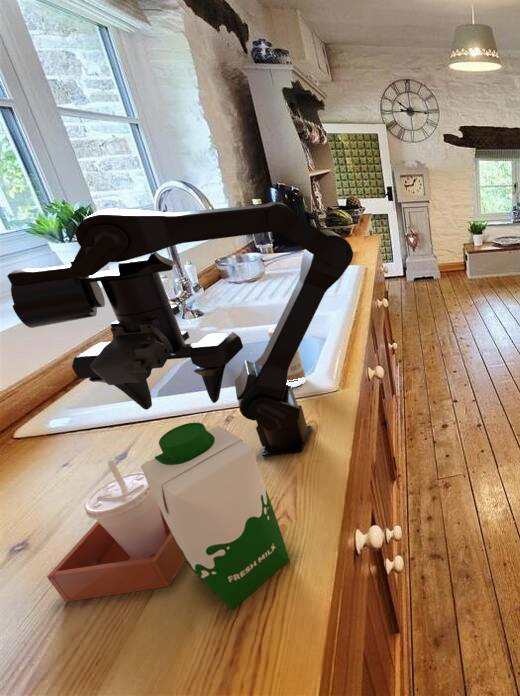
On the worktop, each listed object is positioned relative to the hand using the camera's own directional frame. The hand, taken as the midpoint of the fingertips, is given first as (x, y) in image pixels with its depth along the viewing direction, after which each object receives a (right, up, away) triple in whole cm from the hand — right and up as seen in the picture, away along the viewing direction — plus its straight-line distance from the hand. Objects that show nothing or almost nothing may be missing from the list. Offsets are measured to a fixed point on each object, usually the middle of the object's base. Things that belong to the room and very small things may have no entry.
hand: (182, 404), depth 61 cm
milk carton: (+16, -18, -10) cm, 27 cm away
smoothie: (+2, -17, -7) cm, 19 cm away
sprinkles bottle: (+2, -2, +29) cm, 29 cm away
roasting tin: (+2, -17, -7) cm, 19 cm away
